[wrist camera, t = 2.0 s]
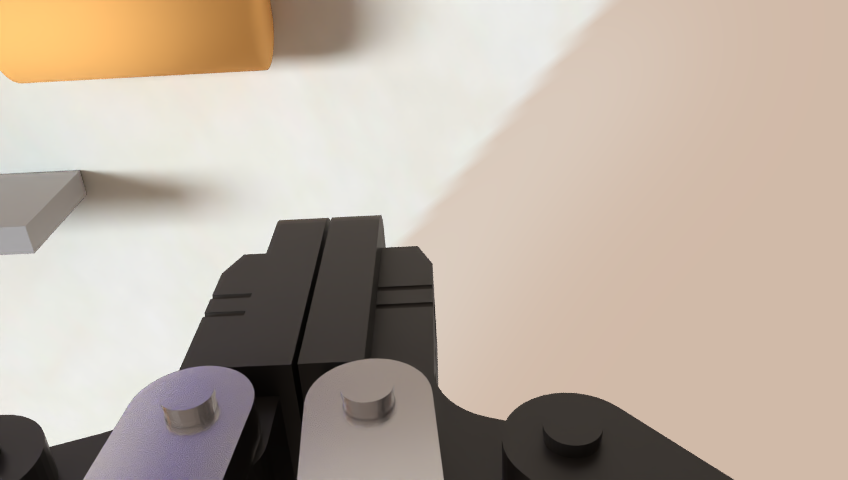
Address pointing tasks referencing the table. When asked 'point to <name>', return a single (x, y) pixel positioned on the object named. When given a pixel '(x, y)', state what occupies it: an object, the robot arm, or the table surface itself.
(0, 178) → the hinged gray case
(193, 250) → the table surface
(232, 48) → the orange cylinder
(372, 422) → the robot arm
